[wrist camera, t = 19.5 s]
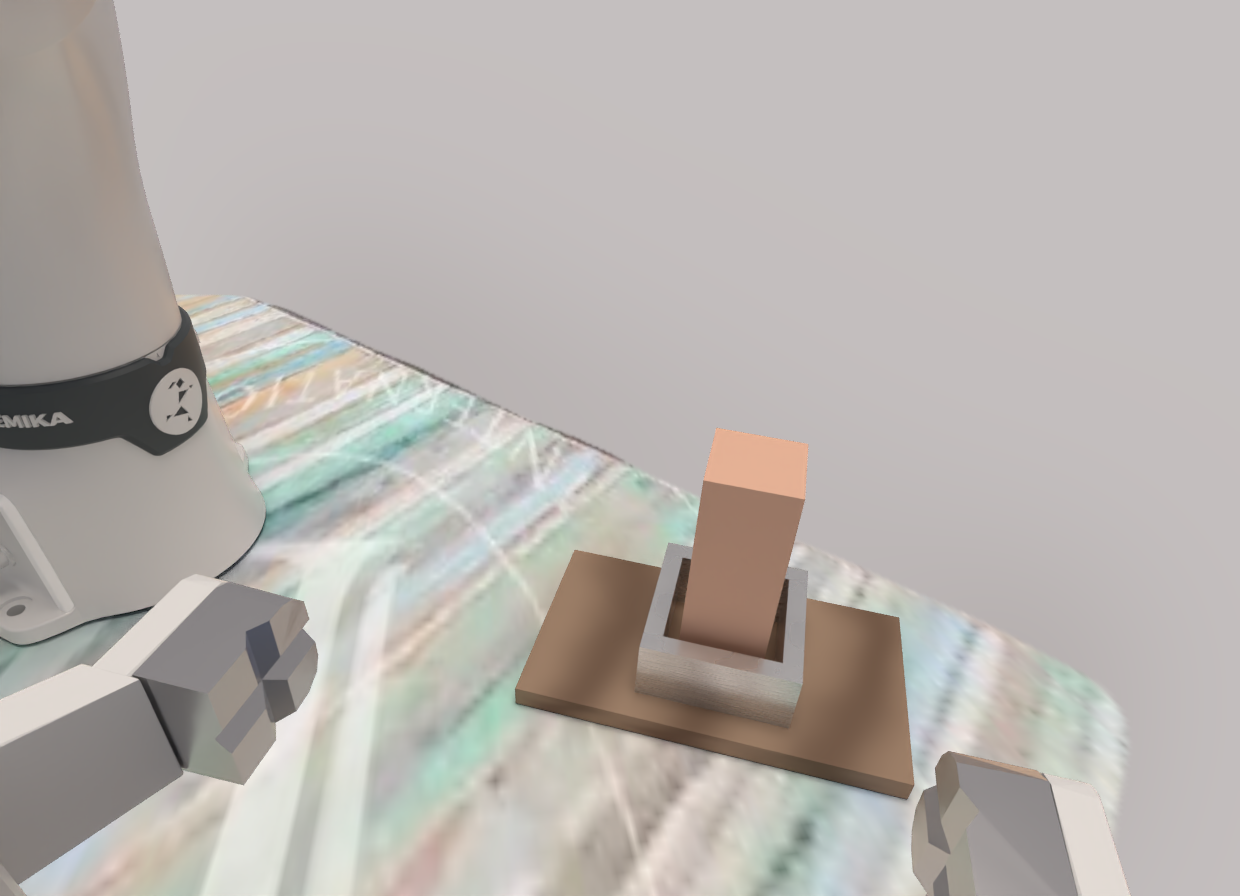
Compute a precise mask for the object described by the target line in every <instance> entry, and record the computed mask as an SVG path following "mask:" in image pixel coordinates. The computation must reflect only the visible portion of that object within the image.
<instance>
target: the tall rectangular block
mask: <svg viewBox="0 0 1240 896" xmlns="http://www.w3.org/2000/svg"><path fill="white" fill-rule="evenodd" d="M807 454H808V444H805V443H799V442H794V441H788V440H782V439H777V438H770V437H765V436H760V435H754V434H748V433H742V432H737V431H731V430H725V429H720V428H716V432H715V436H714V440H713V444H712V448H711V452H710V456H709V460H708V465H707V468H706V472H705V476H704V481H703V487H702V494H701V500H700V506H699V513H698V519H697V526H696V533H695V539H694V546H693V552H692V559H691V565H690V572H689V578H688V585H687V591H686V598H685V604H684V611H683V617H682V624H681V630H680V637H679V640H682V641H686V642H691V643H695V644H700V645H704V646H709V647H713V648H717V649H722V650H726V651H731V652H735V653H740V654H744V655H749V656H753V657H758V658H762V659H764V658H765V654H766V651H767V647H768V643H769V639H770V635H771V631H772V627H773V623H774V619H775V615H776V611H777V607H778V603H779V599H780V596H781V592H782V588H783V584H784V580H785V576H786V572H787V568H788V564H789V560H790V556H791V552H792V548H793V544H794V541H795V536H796V533H797V529H798V525H799V521H800V517H801V512H802V509H803V505H804V501H805V488H806V472H807Z"/></svg>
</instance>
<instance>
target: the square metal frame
mask: <svg viewBox="0 0 1240 896" xmlns="http://www.w3.org/2000/svg"><path fill="white" fill-rule="evenodd" d="M692 552H693V547H688V546H683V545H678V544H673V543H668V546H667V550H666V554H665V557H664V561H663V564H662V568H661V572H660V575H659V579H658V582H657V586H656V589H655V593H654V597H653V600H652V604H651V607H650V611H649V614H648V618H647V622H646V625H645V629H644V632H643V636H642V640H641V643H640V647H639V655H638V664H637V673H636V683H635V692H637V693H641V694H645V695H650V696H654V697H658V698H662V699H666V700H671V701H675V702H679V703H683V704H687V705H692V706H696V707H700V708H704V709H709V710H713V711H717V712H721V713H725V714H730V715H734V716H738V717H742V718H747V719H751V720H755V721H759V722H763V723H768V724H772V725H776V726H780V727H784V728H789V727H790V724H791V720H792V717H793V714H794V711H795V707H796V704H797V701H798V698H799V694H800V691H801V688H802V685H803V666H804V645H805V623H806V602H807V580H808V571H806V570H801V569H796V568H791V567H788V568H787V572H786V576H785V580H784V584H783V588H782V592H781V596H780V599H779V603H778V607H777V611H776V615H775V619H774V622H776V623H778V627H777V639H776V650H775V661H771V660H767V659H762V658H758V657H753V656H749V655H744V654H740V653H735V652H731V651H726V650H722V649H717V648H713V647H709V646H704V645H700V644H695V643H691V642H686V641H682V640H677V639H673V638H668V634H669V629H670V625H671V621H672V617H673V613H674V609H675V605H676V601H679V602H683V603H685V598H686V591H687V585H688V578H689V572H690V565H691V559H692Z"/></svg>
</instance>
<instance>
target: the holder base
mask: <svg viewBox="0 0 1240 896" xmlns="http://www.w3.org/2000/svg"><path fill="white" fill-rule="evenodd" d="M660 572H661V568H660V567H655V566H650V565H645V564H640V563H636V562H631V561H626V560H621V559H617V558H612V557H607V556H602V555H597V554H593V553H588V552H583V551H578V550H574V553H573V555H572V557H571V560H570V562H569V564H568V567H567V569H566V571H565V574H564V576H563V578H562V581H561V583H560V585H559V588H558V590H557V592H556V595H555V597H554V599H553V602H552V604H551V606H550V609H549V611H548V613H547V616H546V618H545V620H544V623H543V625H542V627H541V630H540V632H539V634H538V637H537V639H536V641H535V644H534V646H533V648H532V651H531V653H530V655H529V658H528V660H527V662H526V665H525V667H524V669H523V672H522V674H521V676H520V679H519V681H518V683H517V686H516V688H515V696H516V703H518V704H522V705H526V706H530V707H534V708H538V709H542V710H546V711H550V712H554V713H558V714H562V715H567V716H571V717H575V718H579V719H583V720H587V721H591V722H595V723H599V724H603V725H607V726H611V727H615V728H619V729H623V730H628V731H632V732H636V733H640V734H644V735H648V736H652V737H656V738H660V739H664V740H668V741H672V742H676V743H680V744H685V745H689V746H693V747H697V748H701V749H705V750H709V751H713V752H717V753H721V754H725V755H729V756H733V757H737V758H741V759H746V760H750V761H754V762H758V763H762V764H766V765H770V766H774V767H778V768H782V769H786V770H790V771H794V772H798V773H803V774H807V775H811V776H815V777H819V778H823V779H827V780H831V781H835V782H839V783H843V784H847V785H851V786H855V787H859V788H864V789H868V790H872V791H876V792H880V793H884V794H888V795H892V796H896V797H900V798H904V799H908V797H909V795H910V793H911V791H912V789H913V787H914V777H913V766H912V755H911V744H910V733H909V722H908V711H907V700H906V688H905V677H904V666H903V655H902V644H901V633H900V622H899V618H898V617H894V616H889V615H884V614H879V613H875V612H870V611H865V610H860V609H855V608H851V607H846V606H841V605H836V604H832V603H827V602H822V601H817V600H812V599H808V598H807V602H806V623H805V645H804V666H803V685H802V688H801V691H800V694H799V698H798V701H797V704H796V707H795V711H794V714H793V717H792V720H791V724H790V727H789V728H784V727H780V726H776V725H772V724H768V723H763V722H759V721H755V720H751V719H747V718H742V717H738V716H734V715H730V714H725V713H721V712H717V711H713V710H709V709H704V708H700V707H696V706H692V705H687V704H683V703H679V702H675V701H671V700H666V699H662V698H658V697H654V696H650V695H645V694H641V693H637V692H635V683H636V673H637V664H638V655H639V647H640V643H641V640H642V636H643V632H644V629H645V625H646V622H647V618H648V614H649V611H650V607H651V604H652V600H653V597H654V593H655V589H656V586H657V582H658V579H659V575H660ZM684 604H685V603H683V602H679V601H676V605H675V609H674V613H673V617H672V621H671V625H670V629H669V634H668V638H673V639H677V640H679V637H680V630H681V624H682V617H683V611H684ZM777 627H778V623H776V622H774V623H773V627H772V631H771V635H770V639H769V643H768V647H767V651H766V654H765V658H764V659H767V660H771V661H775V650H776V639H777Z"/></svg>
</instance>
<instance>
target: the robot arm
mask: <svg viewBox="0 0 1240 896" xmlns="http://www.w3.org/2000/svg"><path fill="white" fill-rule="evenodd" d="M199 343H200V341H199V338H198V335H197V332H196V331H195V329H194V328H193V325H192V322H191V319H190V317H189V315H188V314H187V312H186V311H185V310H184V309H182V308H181V307H180V306H178V304H177V301H176V297H175V294H174V290H173V287H172V283H171V279H170V276H169V273H168V269H167V266H166V262H165V259H164V256H163V252H162V249H161V246H160V243H159V239H158V235H157V232H156V229H155V225H154V222H153V219H152V215H151V212H150V209H149V206H148V202H147V198H146V194H145V190H144V187H143V182H142V178H141V174H140V169H139V164H138V159H137V153H136V146H135V141H134V133H133V126H132V115H131V107H130V100H129V91H128V84H127V77H126V71H125V64H124V58H123V51H122V45H121V40H120V34H119V28H118V23H117V17H116V12H115V6H114V1H113V0H0V637H2V638H4V639H6V640H8V641H10V642H11V643H14V644H30V643H35V642H38V641H41V640H44V639H47V638H49V637H52V636H54V635H57V634H59V633H62V632H64V631H66V630H68V629H71V628H73V627H75V626H78V625H80V624H82V623H84V622H87V621H90V620H94V619H98V618H102V617H106V616H111V615H117V614H122V613H127V612H131V611H136V610H140V609H143V608H147V607H150V606H154V605H155V606H154V607H153V608H152V609H151V610H150V611H149V612H148V613H147V614H146V615H145V616H144V617H143V618H142V619H141V620H139V621H138V622H137V623H136V624H135V625H134V626H133V627H132V628H131V629H130V630H129V631H128V632H127V633H126V634H125V635H124V636H123V637H122V638H121V639H120V640H119V641H118V642H117V643H116V644H115V645H114V646H113V647H112V648H110V649H109V650H108V651H107V652H106V653H105V654H104V655H103V656H102V657H101V658H100V659H99V660H98V661H97V662H96V663H95V664H94V665H93V666H90V665H85V664H80V665H78V666H76V667H73V668H71V669H69V670H67V671H64V672H62V673H60V674H57V675H55V676H53V677H51V678H48V679H46V680H44V681H41V682H39V683H37V684H35V685H32V686H30V687H28V688H25V689H23V690H21V691H19V692H16V693H14V694H12V695H9V696H7V697H5V698H3V699H0V896H27V895H26V894H25V893H24V892H23V890H22V889H21V888H20V887H19V884H20V883H22V882H23V881H25V880H26V879H28V878H29V877H31V876H32V875H34V874H35V873H37V872H38V871H40V870H41V869H43V868H44V867H46V866H47V865H49V864H50V863H52V862H53V861H55V860H56V859H58V858H59V857H61V856H62V855H64V854H65V853H67V852H68V851H70V850H71V849H73V848H74V847H76V846H77V845H79V844H80V843H82V842H83V841H85V840H86V839H87V838H89V837H90V836H92V835H93V834H95V833H96V832H98V831H99V830H101V829H102V828H104V827H105V826H107V825H108V824H110V823H111V822H113V821H114V820H116V819H117V818H119V817H120V816H122V815H123V814H125V813H126V812H128V811H129V810H131V809H132V808H134V807H135V806H137V805H138V804H140V803H141V802H143V801H144V800H146V799H147V798H149V797H150V796H152V795H153V794H155V793H156V792H158V791H159V790H161V789H162V788H164V787H165V786H167V785H168V784H170V783H171V782H173V781H174V780H176V779H177V778H179V777H180V776H182V775H183V771H182V770H185V771H189V772H193V773H197V774H201V775H205V776H209V777H213V778H217V779H221V780H225V781H229V782H233V783H237V784H241V785H244V784H245V783H246V781H247V780H248V779H249V777H250V776H251V774H252V773H253V772H254V770H255V769H256V767H257V766H258V765H259V763H260V762H261V760H262V759H263V758H264V756H265V755H266V753H267V752H268V750H269V749H270V748H271V746H272V745H273V743H274V742H275V741H276V725H275V723H276V722H278V721H279V720H281V719H283V718H285V717H287V716H288V715H290V714H292V713H294V712H295V711H297V709H298V708H299V706H300V705H301V703H302V702H303V700H304V699H305V697H306V696H307V694H308V693H309V691H310V688H311V685H312V683H313V680H314V677H315V675H316V672H317V662H318V653H317V648H316V644H315V641H314V640H313V639H312V638H311V637H310V636H309V635H308V634H307V633H306V632H305V631H304V630H303V629H302V628H303V627H304V625H305V624H306V623H307V621H308V620H309V617H308V613H307V610H306V607H305V604H304V601H300V600H296V599H292V598H289V597H285V596H281V595H277V594H273V593H269V592H266V591H262V590H258V589H254V588H250V587H246V586H243V585H239V584H235V583H232V582H228V581H223V580H219V579H215V578H214V577H216V576H218V575H219V574H220V573H222V572H223V571H225V570H226V569H227V568H229V567H230V566H231V565H232V564H234V563H235V562H236V561H237V560H238V559H239V558H240V557H241V556H242V555H243V554H244V553H245V552H246V551H247V550H248V549H249V548H250V546H251V545H252V544H253V543H254V541H255V540H256V538H257V537H258V535H259V533H260V531H261V529H262V527H263V524H264V520H265V515H266V506H265V501H264V498H263V496H262V494H261V492H260V491H259V489H258V487H257V486H256V484H255V483H254V481H253V480H252V478H251V476H250V475H249V473H248V457H247V455H246V453H245V450H244V448H243V446H242V445H241V444H239V443H236V442H234V440H233V438H232V435H231V433H230V431H229V428H228V426H227V424H226V421H225V419H224V417H223V414H222V412H221V410H220V407H219V405H218V403H217V400H216V398H215V396H214V393H213V391H212V389H211V387H210V384H209V382H208V380H207V378H206V367H205V363H204V360H203V357H202V353H201V350H200V346H199ZM935 773H936V783H937V785H936V786H933V787H931V788H929V789H926V790H924V791H923V793H922V795H921V798H920V800H919V802H918V804H917V807H916V810H915V816H914V821H913V826H912V843H911V852H912V867H913V873H914V874H915V876H916V877H917V879H918V880H919V882H920V883H921V885H922V886H923V888H924V889H925V891H926V892H927V894H926V896H1131V894H1130V891H1129V888H1128V884H1127V882H1126V878H1125V875H1124V872H1123V869H1122V866H1121V862H1120V859H1119V856H1118V853H1117V850H1116V846H1115V843H1114V840H1113V837H1112V834H1111V830H1110V827H1109V824H1108V821H1107V818H1106V815H1105V811H1104V808H1103V805H1102V802H1101V799H1100V796H1099V794H1098V793H1097V791H1096V790H1095V789H1094V787H1093V786H1092V785H1091V784H1087V783H1084V782H1080V781H1076V780H1071V779H1067V778H1062V777H1058V776H1053V775H1049V774H1044V773H1039V772H1038V771H1037V770H1033V769H1028V768H1023V767H1019V766H1014V765H1010V764H1005V763H1001V762H996V761H992V760H987V759H983V758H978V757H973V756H969V755H964V754H960V753H955V752H951V751H948V752H947V753H945V754H943V755H942V756H941V758H940V760H939V762H938V764H937V765H936V767H935Z"/></svg>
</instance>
